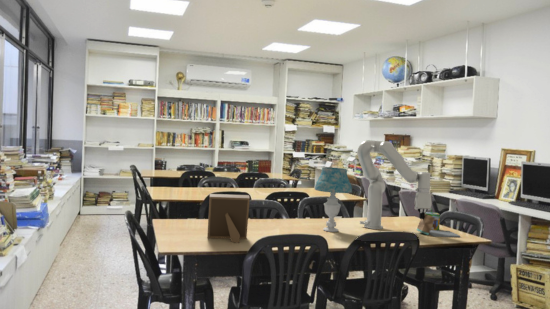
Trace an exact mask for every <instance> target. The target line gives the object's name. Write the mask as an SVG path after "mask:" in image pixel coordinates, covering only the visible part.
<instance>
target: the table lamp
mask: <svg viewBox="0 0 550 309" xmlns="http://www.w3.org/2000/svg"><path fill="white" fill-rule="evenodd" d="M314 190H315V191H318V192H323V193H330V196H329V197H327V198H326V200H327V201H326V202H324V203H323V206H324V213H325V215H326V216H327V217H328V220H326V223H325V225H326V227H323V228H322V230H323V231H325V232H329V233H330V232H331V233H338V232H339V231H340V230H339V229H338V228H336V226H337V222H336V221H335V217H336V216H338V215H339V213H340V208H341V206H342V204H341V203H339V198H338V197H337V196H336V194H349V193H350V194H351V193H352V192H353V188H352V184H351V182H350V179H349V177H348V169H347V168H344V167H343V168H341V167H327V166H326V167H322V168H321V173H320V176H319V177H318V179H317V181H316V182H315V185H314Z"/></svg>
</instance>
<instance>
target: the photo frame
mask: <svg viewBox="0 0 550 309" xmlns="http://www.w3.org/2000/svg"><path fill="white" fill-rule="evenodd" d="M250 197H251V196H250V195H249V194H226V193H225V194H223V193H209V198H208V199H209V201H208V204H209V205H208V218H207V220H208V221H207V239H226V240H227V239H230V242H232V243H236V244H240V240H247V237H248V236H247V235H248V225H249V213H250V212H249V210H250V201H251V200H250V199H251V198H250Z"/></svg>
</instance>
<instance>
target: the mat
mask: <svg viewBox="0 0 550 309" xmlns="http://www.w3.org/2000/svg"><path fill="white" fill-rule="evenodd" d="M428 236H431V237H433V238H434V237H437V238H439V237H440V238H461V235H459V234H457V233H455V232H453V231H450V230H440V229H439V230H430V232H429V235H428Z"/></svg>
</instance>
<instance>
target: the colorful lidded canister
mask: <svg viewBox="0 0 550 309" xmlns="http://www.w3.org/2000/svg"><path fill="white" fill-rule="evenodd" d="M425 214H427V215H429V216H432V217H434V218H435V219H434V222H433V224H432V227H431V230H440V222H441V221H440V220H441V219H440V218H441V214H440V213H438V212H433V209H432V208H431V210H430V211H426V213H425Z"/></svg>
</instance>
